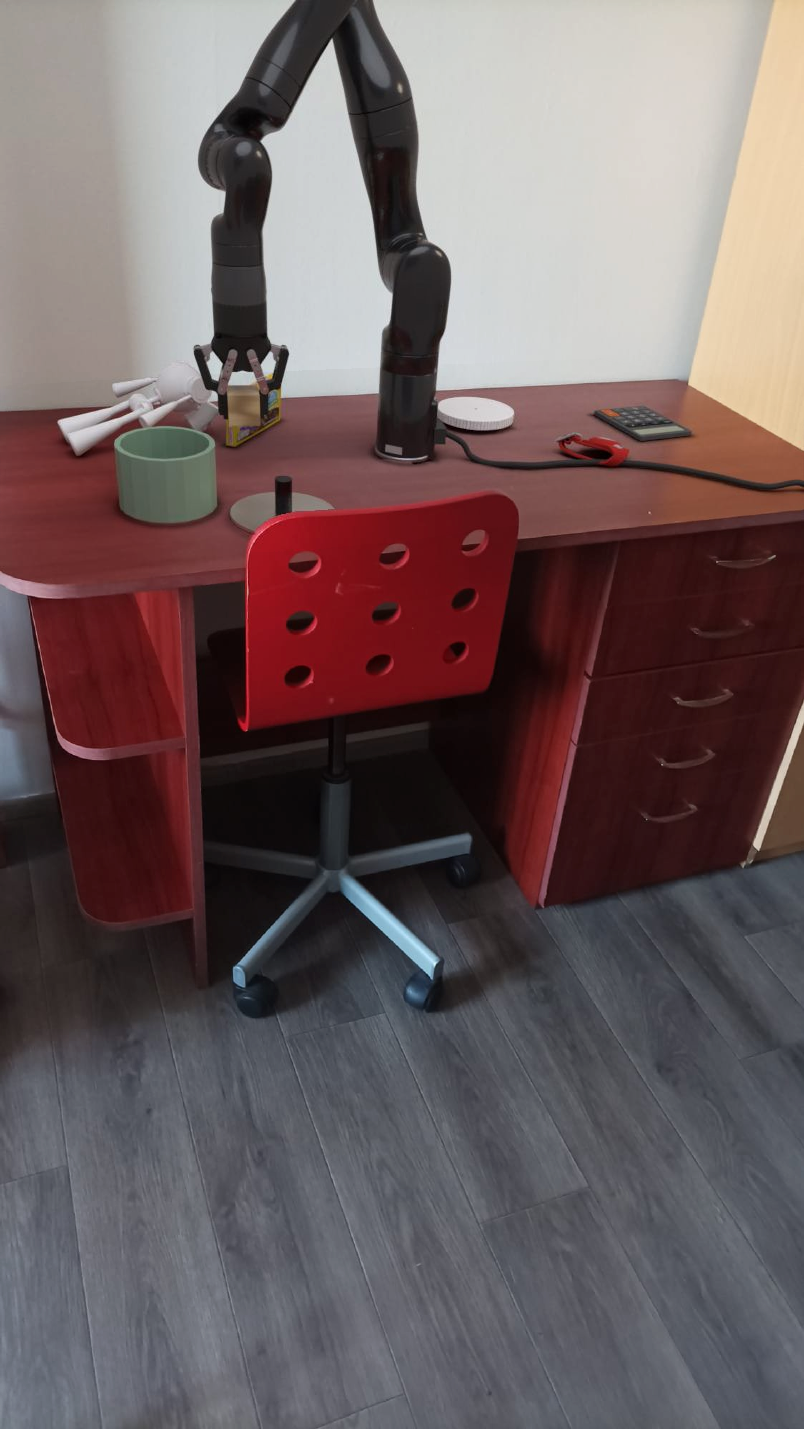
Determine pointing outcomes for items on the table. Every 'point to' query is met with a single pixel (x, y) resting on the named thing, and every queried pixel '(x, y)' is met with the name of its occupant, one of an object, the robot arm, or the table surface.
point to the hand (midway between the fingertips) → (243, 417)
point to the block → (243, 405)
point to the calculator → (642, 423)
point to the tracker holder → (597, 443)
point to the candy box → (243, 433)
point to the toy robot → (145, 407)
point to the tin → (166, 474)
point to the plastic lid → (475, 413)
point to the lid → (273, 505)
